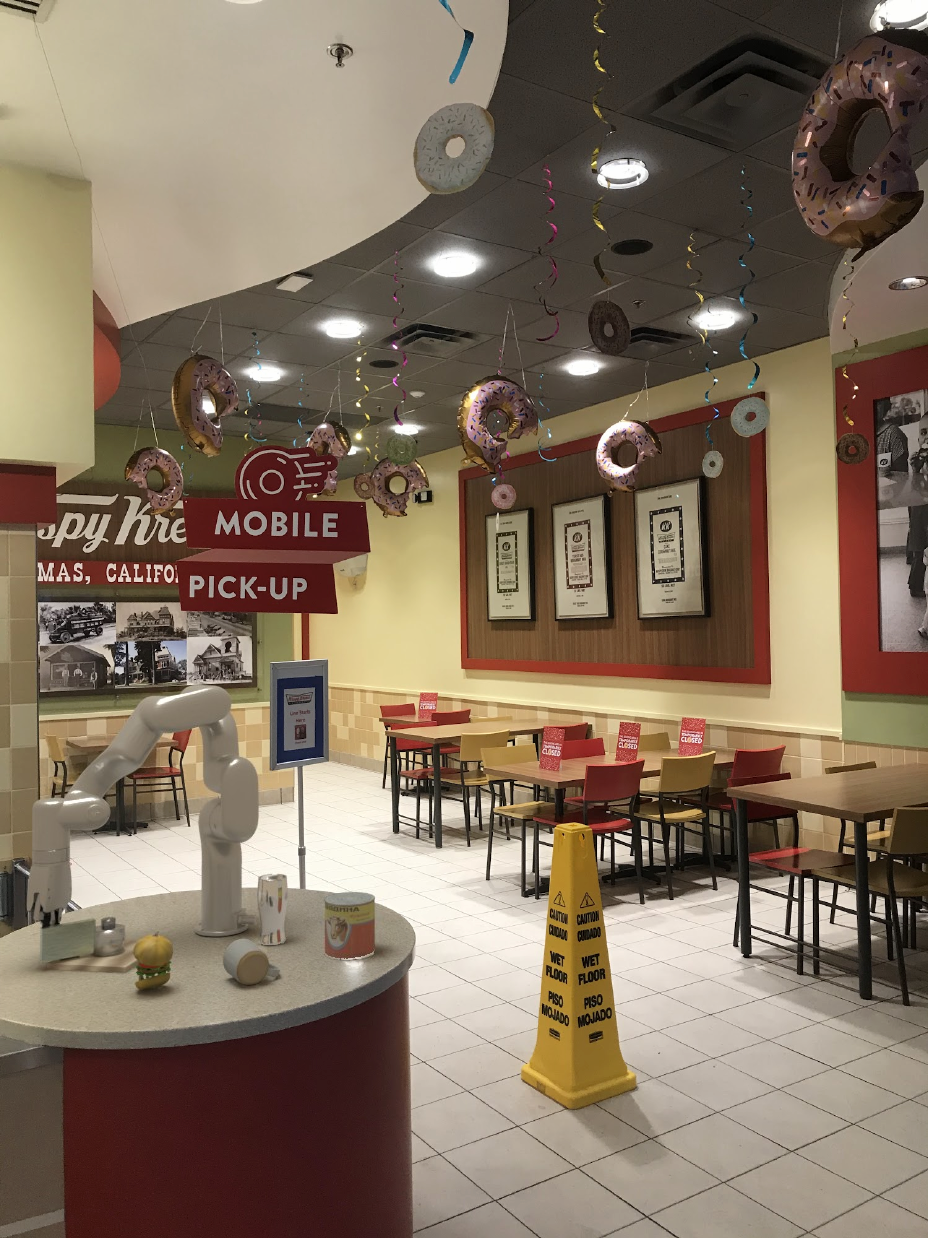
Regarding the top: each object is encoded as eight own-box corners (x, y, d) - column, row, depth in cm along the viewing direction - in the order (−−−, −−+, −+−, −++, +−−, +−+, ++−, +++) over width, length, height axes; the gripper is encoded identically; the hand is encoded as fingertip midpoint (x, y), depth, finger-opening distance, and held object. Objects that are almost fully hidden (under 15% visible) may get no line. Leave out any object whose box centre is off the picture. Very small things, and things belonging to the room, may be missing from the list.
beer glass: (280, 947, 216) (280, 881, 216) (252, 946, 217) (252, 879, 218) (292, 938, 223) (292, 874, 223) (264, 937, 224) (264, 873, 225)
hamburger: (162, 981, 194) (163, 922, 194) (180, 990, 188) (180, 929, 189) (126, 991, 188) (126, 929, 189) (143, 1000, 183) (143, 937, 184)
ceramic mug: (236, 990, 188) (237, 951, 188) (221, 979, 195) (222, 941, 195) (286, 980, 194) (287, 942, 194) (270, 970, 201) (270, 933, 201)
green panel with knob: (118, 944, 214) (119, 910, 215) (129, 951, 209) (129, 917, 209) (36, 960, 203) (36, 924, 204) (45, 968, 198) (45, 932, 198)
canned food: (314, 956, 209) (314, 901, 210) (342, 942, 219) (342, 890, 220) (358, 963, 204) (357, 907, 205) (384, 948, 214) (384, 895, 215)
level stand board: (165, 947, 217) (165, 940, 217) (125, 973, 199) (125, 966, 199) (92, 944, 220) (92, 937, 220) (46, 969, 202) (46, 962, 202)
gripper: (55, 849, 214) (55, 931, 213) (13, 863, 199) (13, 952, 198) (86, 849, 213) (86, 932, 212) (46, 864, 198) (46, 953, 197)
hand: (50, 941), depth 205 cm, fingers closed
